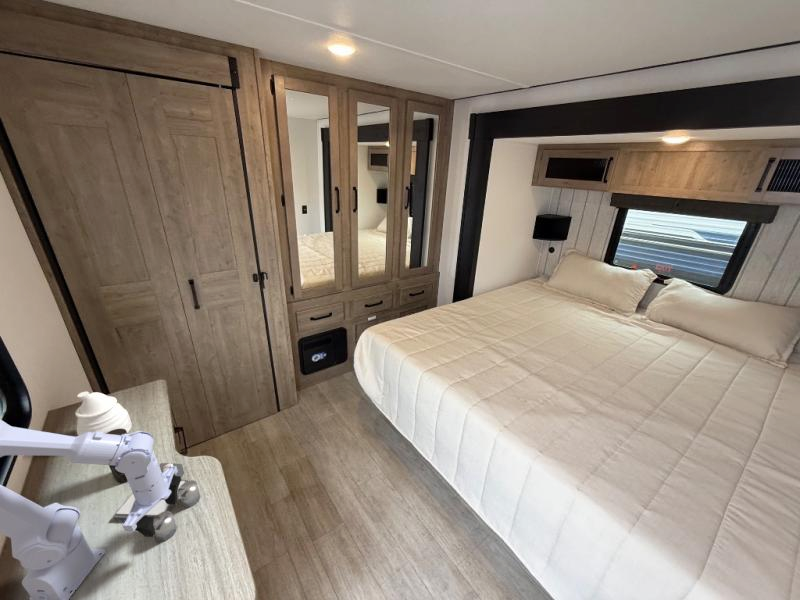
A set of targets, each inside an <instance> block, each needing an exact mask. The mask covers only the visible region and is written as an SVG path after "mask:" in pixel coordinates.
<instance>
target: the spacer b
mask: <svg viewBox="0 0 800 600" xmlns="http://www.w3.org/2000/svg"><path fill="white" fill-rule="evenodd" d="M178 495H179V498H178V499H179V500H180V503H181V506H182V507H183V508H185V509H188V508H192V507H194V506H196V505H197V504H198V503H199V501H200V499H201V493H200V489H199V487H198V483H197V481H196V480H188V481H187V482H185V483H184V484H182V485H181V486H180V487H179V489H178Z"/></svg>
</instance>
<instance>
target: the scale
mask: <svg viewBox="0 0 800 600" xmlns="http://www.w3.org/2000/svg"><path fill="white" fill-rule="evenodd" d="M159 466H160V469H161V472H162V473H163V472H164V471H165V470H166V469H167V468H168V467H169V466H176V467H177V470H178V472H177V474H176V475H175V476H180V477H181V478H182V477H184V475H185V471H184V467H183V464H182V463H176V462H175V463H173V462H171V463H170V462H168V463H167V462H161V463H160V464H159ZM187 481H189V480H188V479H182V480H181V482H180V484H179V487H180V486H181V485H182V484H184V483H185V482H187ZM179 487H178V489H179ZM178 499H180V498H179V495H178V492H177V500H178ZM134 501H135V497H134V495H133V492H132V493H131V495H130V496H128V498H127V500H125V502H124V503H123V504H122V506H120V508H119V509H118V510H117V511H116V513H115V514H114V515H113V516H112V519H113V521H123V522H124V521H125V520H126V519H127V517H128V515H129V513H130V510H131V508H132V506H133V503H134ZM174 506H175V504H167V503H166V502H165V500H161V501H160V502H159V503H158V504H157V505H155V506H154V507H153V508H152V509H151V510H150V511H149V512H148V513H147V514H145V515H147V517H156V516H157V515H158V514H160V513H162V512H164V511H170V512H171V510H172V509H173V507H174Z"/></svg>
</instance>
